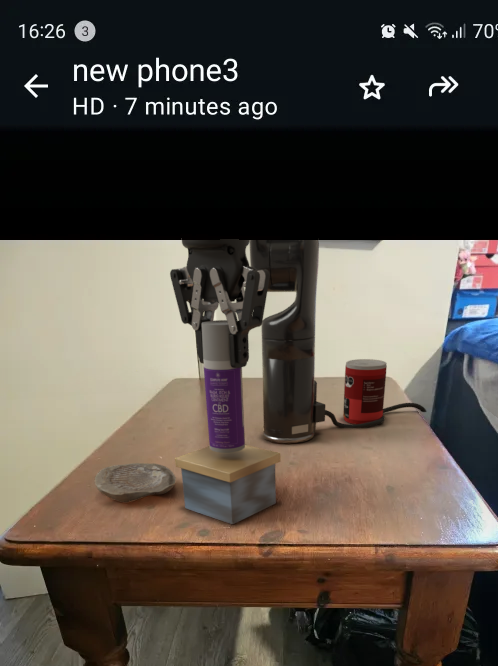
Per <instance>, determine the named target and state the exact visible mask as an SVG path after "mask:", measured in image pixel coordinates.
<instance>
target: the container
mask: <svg viewBox="0 0 498 666" xmlns="http://www.w3.org/2000/svg"><path fill="white" fill-rule="evenodd" d="M229 334H232V333H231V332H230V330H229V326H228V323H227V319H219V320H218V319H217V320H213V321H206V322H202V341H203V361H204V364H203V376H204V392H205V406H206V415H207V417H206V418H207V429H208V442H209V444H208V445H209V446H210V449H211V450H212V451H215V452H220V453H230V452H237V451H240V450H242V449H244V448H245V445H246V438H245V437H246V436H245V435H246V434H245V410H244V389H243V387H244V385H243V384H244V383H243V367H241V368H232V367H231V363H230V344H229Z"/></svg>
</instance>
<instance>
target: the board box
mask: <svg viewBox="0 0 498 666" xmlns="http://www.w3.org/2000/svg"><path fill="white" fill-rule="evenodd" d="M280 462H281V452H277V451H274V450H269V449H266V448H265V449H264V448H260V447H257V446H252V445H248V444H245V448H244V449H242V450H240V451H237V452H230V453H220V452H215V451H212V450H211V449H210V445H209V446H205V447H203V448H200V449H196V450H194V451H191V452H189V453H185V454H181V455H180V456H176V457H175V458H174V465H175V467H176V468H179V469H180V471H181V480H182V489H183V490H182V491H183V500H184V508H185V509H186V510H190V511H191V512H195V513H197V514H201V515H204V516H207V517H209V518H212V519H215V520H218V521H221V522H224V523H227V524H230V525H234V524H237V523H239V522H240V521H243V520H245V519H247V518H249V517H251V516H253V515H255V514H257V513H259V512H262V511H263V510H265V509H267V508H269V507H271V506H273V505H276V503H277V494H276V493H277V492H276V490H277V489H276V485H277V484H276V464H278V463H280Z"/></svg>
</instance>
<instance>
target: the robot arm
mask: <svg viewBox="0 0 498 666" xmlns="http://www.w3.org/2000/svg"><path fill="white" fill-rule="evenodd" d="M181 244H182V246H183V247H184V248H185V249H187V252H188V256H187V261H186V266H183V267H180V268H172V269H171V270H170V271H169V272H170V273H169V277H170V280H171V281H170V282H171V285H172V288H173V289H172V290H173V293H174V296H175V300H176V304H177V309H178V311H179V316H180V320H181V323H183V324H184V325H187V324H188V325H189V326H191V328H192V329H193V330H194V332H195V342H196V354H197V357H198V361H199V363H200V364H203V365H204V361H203V341H202V322H206V321H214V320H215V319H214V318H215V313H216V311H217V310H218V308H220V311H221V313H222V314H223V315H225V318H226V319H225V320H227V323H228V326H229V330H230V332H231V333H232V334H229V344H230V363H231V367H232V368H241V367H242V368H245V367H246V366H247V365H248V362H249V358H250V350H249V346H250V345H249V333H250V332H251V330H254V329H256V328H259V327H260V330H261V331H260V332H261V366H262V368H261V369H262V405H263V406H262V407H263V408H262V411H263V414H262V415H263V432H262V433H263V435H262V436H263V438H264V439H265V440H266V441H269V442H273V443H277V444H296V443H303V442H307V441H309V440H311V439H313V438H314V435H315V434H316V433H317V424H318V423H323V422H326V416H327V418H328V417H329V418H330V420H331V423H332V424H333V426H335V427H336V428H340V429H365V428H370V427H375V426H377V425H381V424H383V423H384V421H385V415H384V414H386V413H389V412H392V411H393V412H394V411H395V410H400V409H404V408H413V409H416V410H418V411H420V412H422V413H427V412H428V410H427V409H426V408H425V407H424V406H423V405H421V404H419V403H416V402H403V403H397V404H395V405H391V406H388V407H383V416H382V417H381V418H380V419H379V420H375V421H371V422H367V423H362V424H351V423H342V422H340V421H338V420H337V417H336V416H335V414H334V413H333V412H331V411H330V410H327V409H326V403H322V402H320V401H317V397H318V396H317V394H318V390H317V389H318V383H317V381H316V380H315V371H316V369H315V368H316V367H315V366H316V364H315V363H316V362H315V361H316V356H315V355H316V320H317V319H316V318H317V289H318V278H319V265H320V264H319V263H320V243H319V239H318V240H239V239H220V240H182V239H181ZM248 246H249V260H248V257H247V253H246V252H247V247H248ZM268 293H295V298H294V301H293V302H292V303H291V304H290V305H289V306H288V307H286V308H284V309H283V310H281V311H279V312H277V313H275V314H272V315H269V316H267V317H264V314H265V308H266V303H267V296H268ZM188 305H189V306H188ZM189 307H190V310H189Z"/></svg>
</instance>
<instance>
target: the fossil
mask: <svg viewBox="0 0 498 666" xmlns="http://www.w3.org/2000/svg"><path fill="white" fill-rule="evenodd" d="M176 480H177V477H176V475H175V473H174V472H173V471H172V470H171V469H170V468H169V467H167V466H166V465H163V464H159V463H154V462H153V463H148V462H147V463H144V462H140V463H139V462H133V463H125V464H117V465H111V466H106V467H103V468H102V469H100V470H99V472H97V473H96V475H95V476H94V484H95V488H97V490H98V492H99V493H101V494H102V495H103V496H106V497H107V498H109V499H112V500H114V501H116V502H119V503H124V504H127V503H130V502H133V501H137V500H139V499H142V498H144V497H145V498H146V497H148V496H152V495H153V496H154V495H163V494H166V493H168V492H170V491H171V490H172V489H173V487H174V486H175V484H176Z"/></svg>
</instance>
